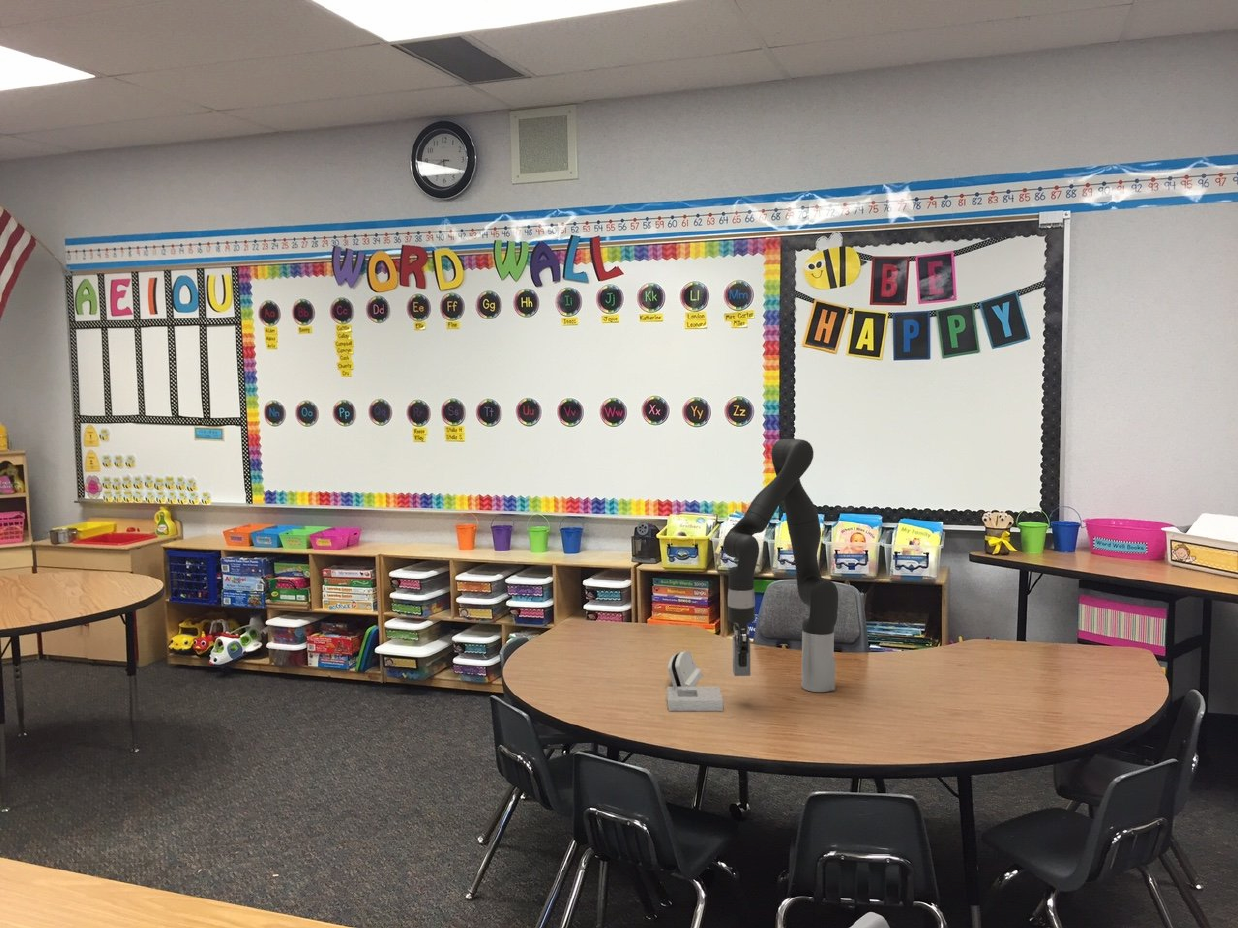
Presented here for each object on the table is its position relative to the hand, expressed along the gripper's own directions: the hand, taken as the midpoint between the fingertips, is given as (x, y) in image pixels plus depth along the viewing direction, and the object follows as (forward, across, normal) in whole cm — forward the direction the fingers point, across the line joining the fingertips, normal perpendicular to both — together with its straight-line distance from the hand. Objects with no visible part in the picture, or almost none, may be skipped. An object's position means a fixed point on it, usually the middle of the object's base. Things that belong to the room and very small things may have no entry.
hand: (741, 663), depth 266 cm
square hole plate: (+11, 0, +13) cm, 18 cm away
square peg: (+3, 0, 0) cm, 3 cm away
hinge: (+12, +20, +15) cm, 27 cm away
